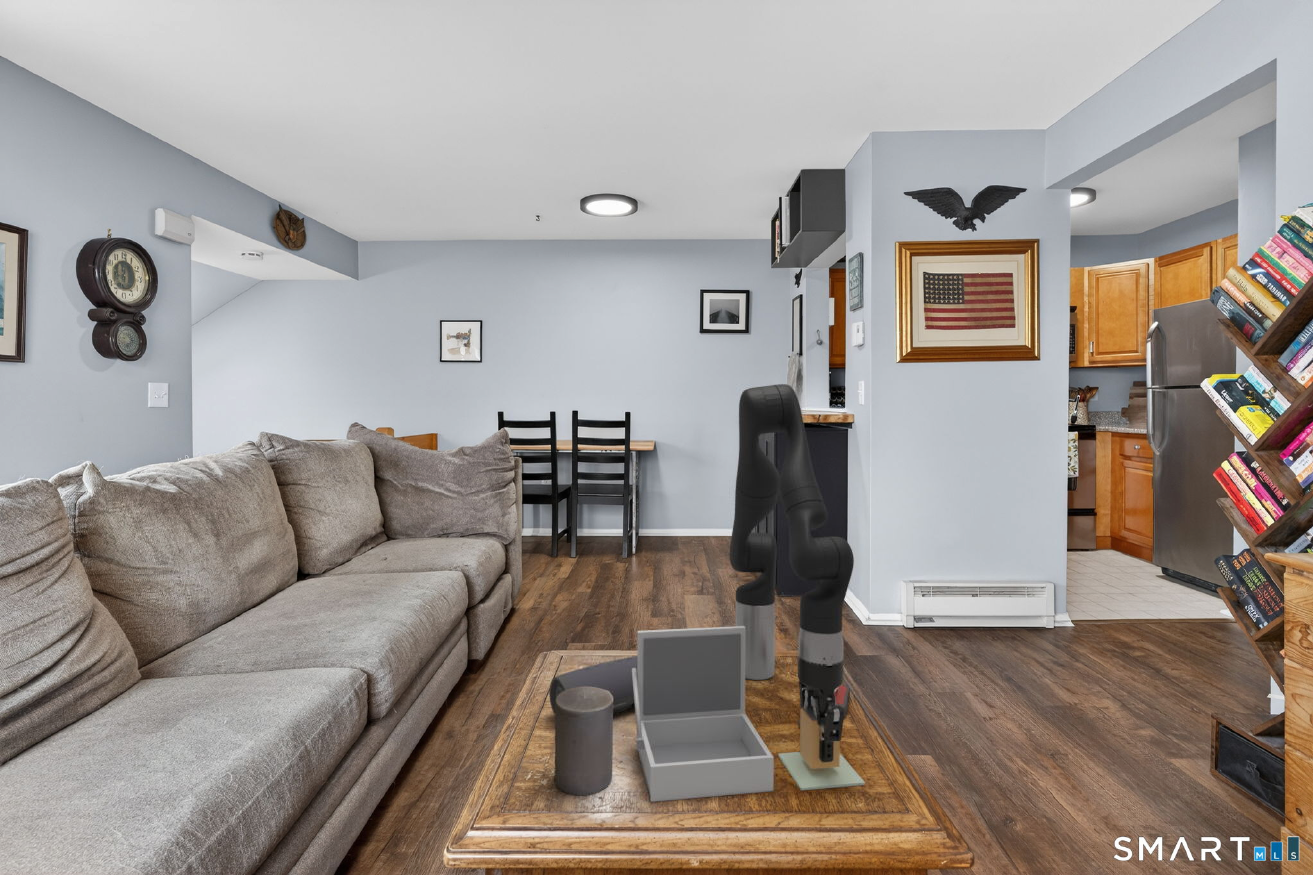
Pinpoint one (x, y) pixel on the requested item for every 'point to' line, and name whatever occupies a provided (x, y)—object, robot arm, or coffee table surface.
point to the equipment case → (696, 715)
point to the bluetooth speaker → (600, 681)
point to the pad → (819, 773)
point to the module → (814, 741)
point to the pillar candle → (583, 740)
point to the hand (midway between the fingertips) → (819, 752)
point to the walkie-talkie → (841, 698)
